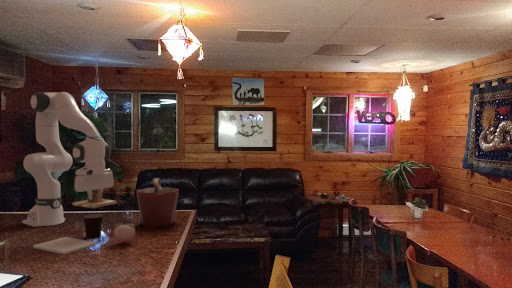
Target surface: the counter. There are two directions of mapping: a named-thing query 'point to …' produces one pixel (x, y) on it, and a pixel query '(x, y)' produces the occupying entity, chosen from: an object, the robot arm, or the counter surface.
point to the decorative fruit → (124, 232)
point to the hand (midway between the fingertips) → (95, 198)
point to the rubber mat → (64, 245)
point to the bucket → (157, 205)
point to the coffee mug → (93, 225)
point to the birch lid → (95, 201)
